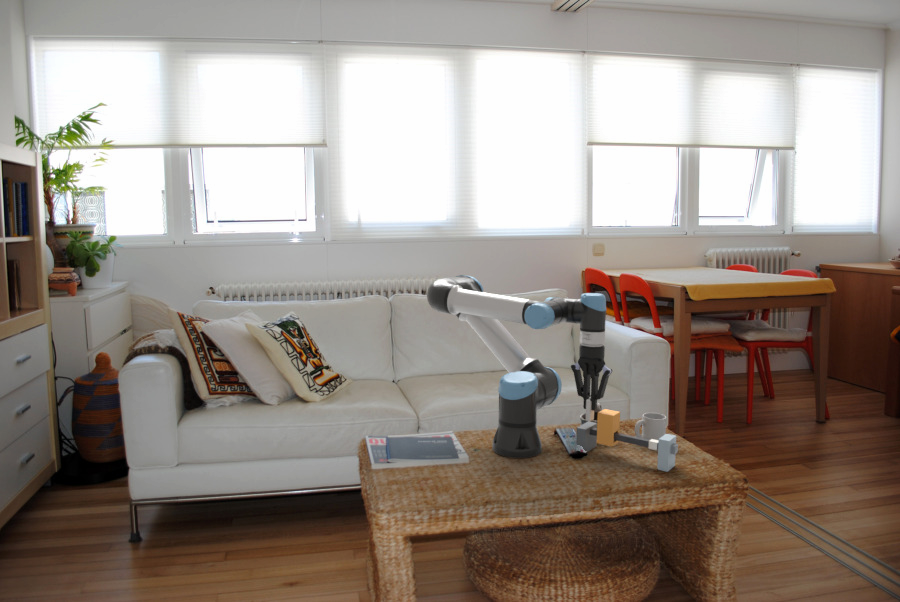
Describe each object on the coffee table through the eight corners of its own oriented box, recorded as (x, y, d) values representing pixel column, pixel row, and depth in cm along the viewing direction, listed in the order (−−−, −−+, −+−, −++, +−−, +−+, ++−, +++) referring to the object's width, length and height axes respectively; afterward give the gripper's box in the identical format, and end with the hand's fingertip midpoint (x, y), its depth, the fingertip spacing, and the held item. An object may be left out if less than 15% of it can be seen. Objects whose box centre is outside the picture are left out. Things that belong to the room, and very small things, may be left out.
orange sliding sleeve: (596, 443, 200) (597, 412, 199) (603, 438, 204) (604, 408, 203) (612, 446, 197) (613, 415, 196) (618, 442, 201) (620, 411, 200)
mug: (579, 441, 213) (580, 410, 211) (578, 428, 225) (579, 400, 223) (610, 443, 211) (611, 412, 210) (607, 430, 223) (608, 401, 222)
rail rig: (575, 451, 203) (576, 422, 202) (587, 444, 210) (588, 416, 208) (670, 474, 186) (672, 443, 185) (680, 465, 192) (681, 435, 191)
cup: (669, 446, 208) (670, 419, 207) (638, 448, 207) (640, 420, 205) (658, 438, 215) (659, 412, 214) (629, 440, 214) (630, 413, 212)
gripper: (566, 343, 202) (564, 418, 205) (607, 348, 194) (604, 426, 197) (578, 340, 208) (576, 413, 211) (617, 345, 200) (614, 420, 203)
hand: (589, 419), depth 204 cm, fingers closed
